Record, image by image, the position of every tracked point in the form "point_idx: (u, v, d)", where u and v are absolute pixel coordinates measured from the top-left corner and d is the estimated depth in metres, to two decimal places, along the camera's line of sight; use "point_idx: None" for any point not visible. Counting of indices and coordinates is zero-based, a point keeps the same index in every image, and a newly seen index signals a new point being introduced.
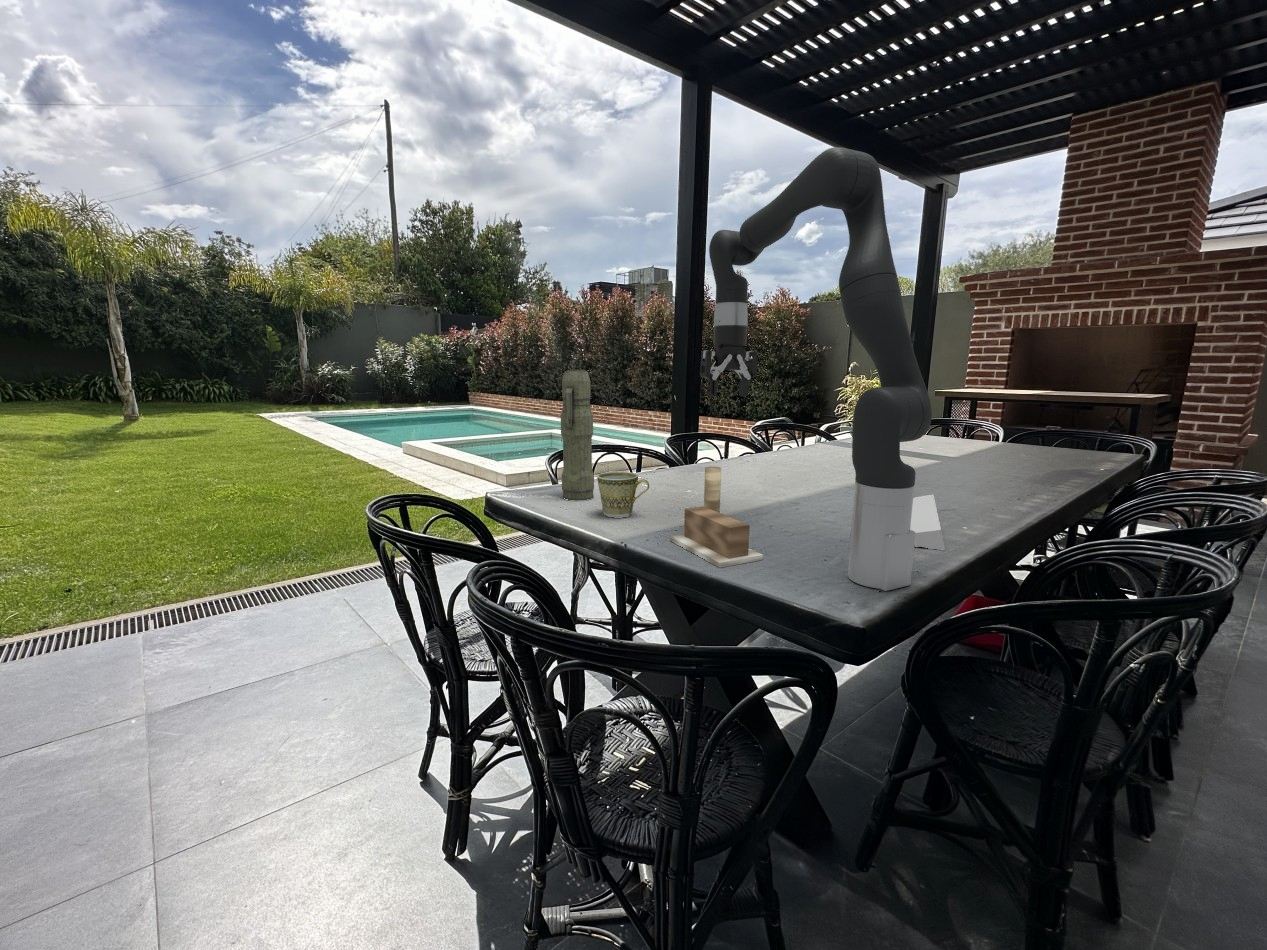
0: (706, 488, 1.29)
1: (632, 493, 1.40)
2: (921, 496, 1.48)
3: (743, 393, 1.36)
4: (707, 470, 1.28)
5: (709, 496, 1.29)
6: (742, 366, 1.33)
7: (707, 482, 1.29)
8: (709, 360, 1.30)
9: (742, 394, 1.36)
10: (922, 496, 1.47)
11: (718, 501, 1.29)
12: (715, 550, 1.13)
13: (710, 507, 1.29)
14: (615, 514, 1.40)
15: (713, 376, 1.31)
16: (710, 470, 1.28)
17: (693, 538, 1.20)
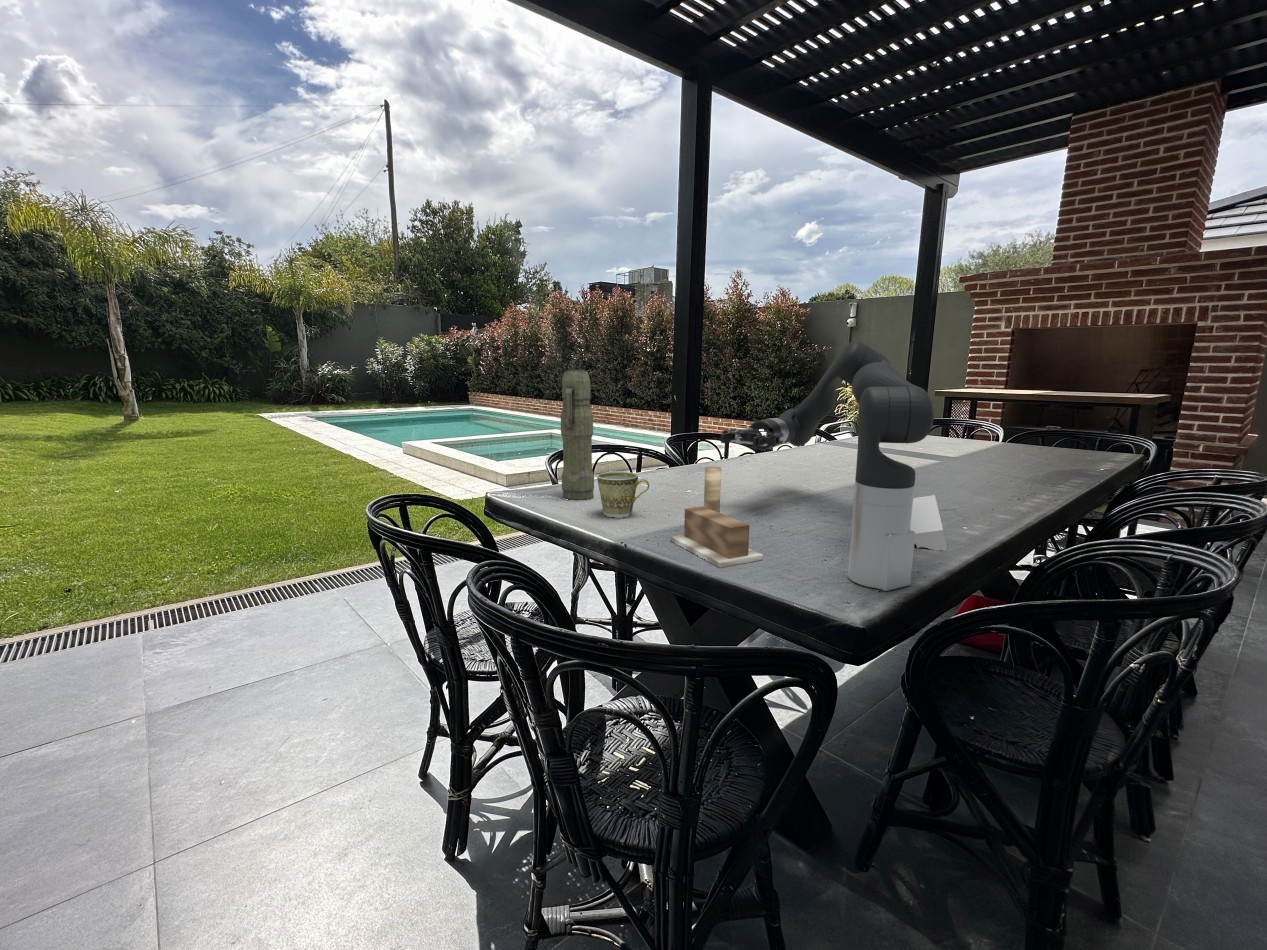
0: (706, 488, 1.29)
1: (632, 493, 1.40)
2: (922, 497, 1.47)
3: None
4: (707, 470, 1.28)
5: (709, 496, 1.29)
6: (761, 431, 1.40)
7: (707, 482, 1.29)
8: (732, 429, 1.47)
9: None
10: (923, 497, 1.47)
11: (718, 501, 1.29)
12: (715, 550, 1.13)
13: (710, 507, 1.29)
14: (615, 514, 1.40)
15: None
16: (710, 470, 1.28)
17: (693, 538, 1.20)
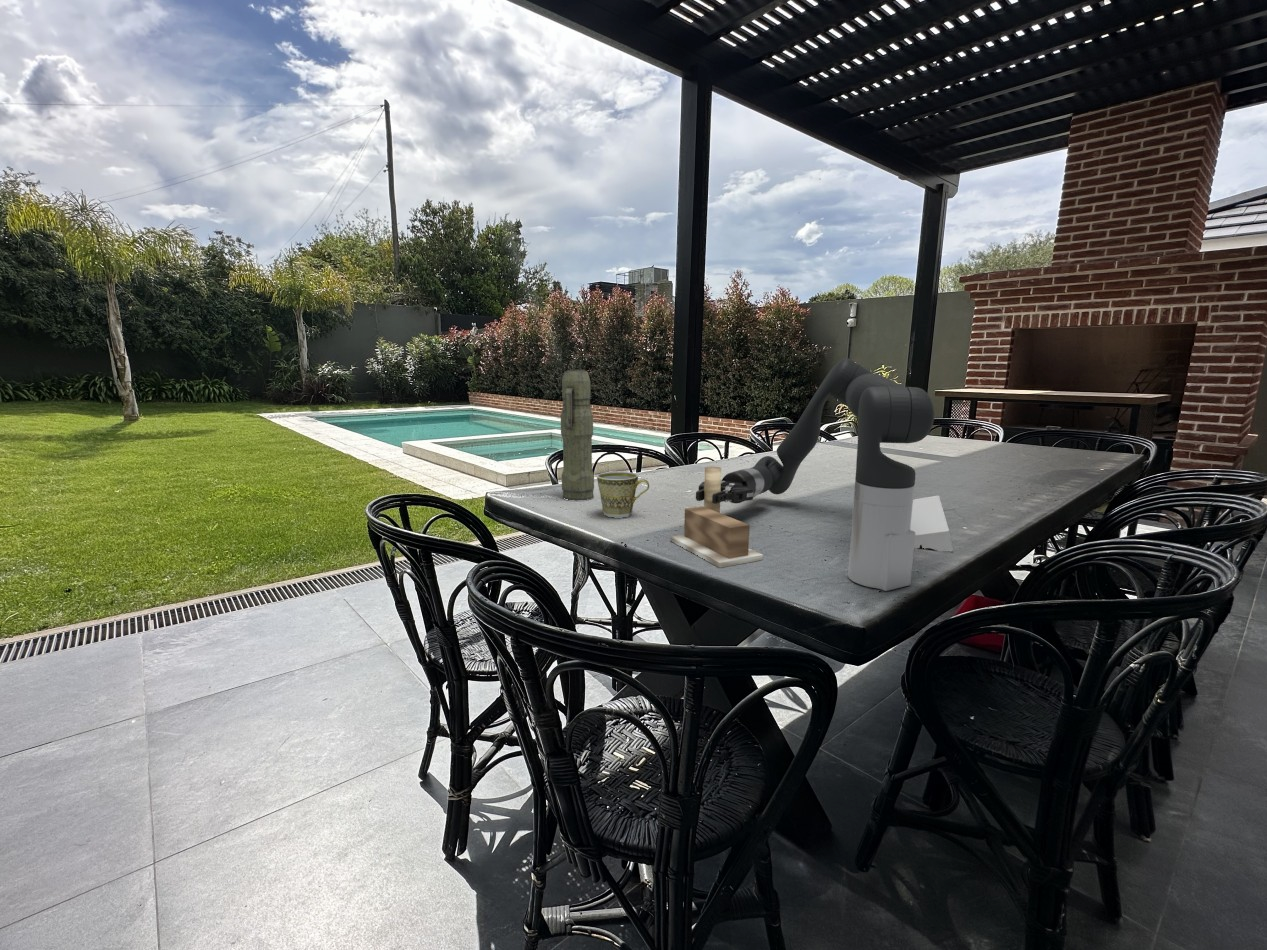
0: (706, 488, 1.29)
1: (632, 493, 1.40)
2: (926, 497, 1.47)
3: None
4: (707, 470, 1.28)
5: (709, 496, 1.29)
6: (729, 485, 1.33)
7: (707, 482, 1.29)
8: (704, 483, 1.37)
9: None
10: (927, 497, 1.46)
11: None
12: (715, 550, 1.13)
13: (710, 507, 1.29)
14: (615, 514, 1.40)
15: None
16: (710, 470, 1.28)
17: (693, 538, 1.20)
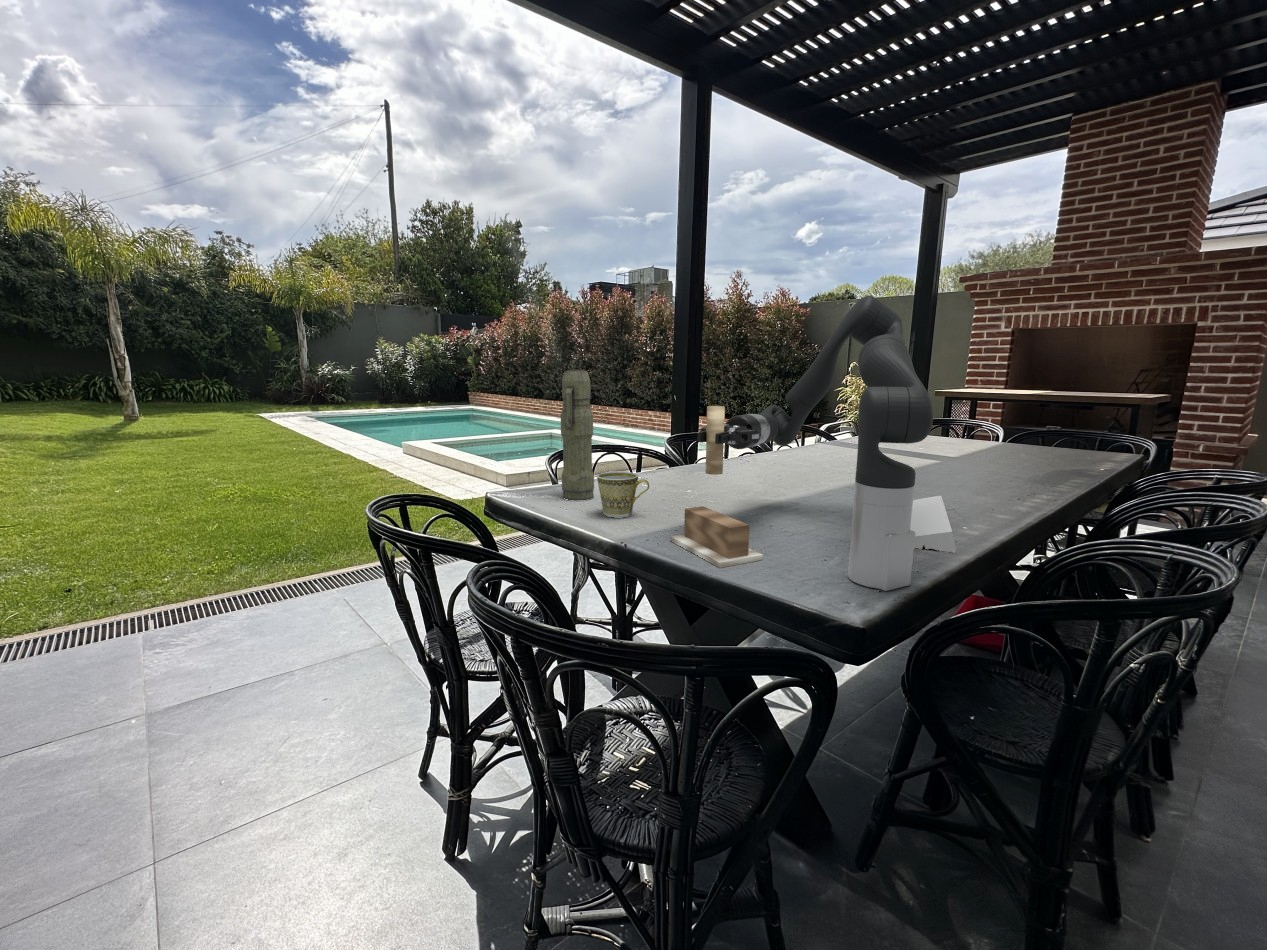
0: (708, 428, 1.20)
1: (632, 493, 1.40)
2: (929, 497, 1.46)
3: None
4: (710, 408, 1.19)
5: (712, 437, 1.20)
6: (732, 427, 1.24)
7: (709, 421, 1.19)
8: (706, 427, 1.28)
9: None
10: (930, 497, 1.46)
11: None
12: (715, 550, 1.13)
13: (713, 449, 1.20)
14: (615, 514, 1.40)
15: None
16: (713, 408, 1.19)
17: (693, 538, 1.20)
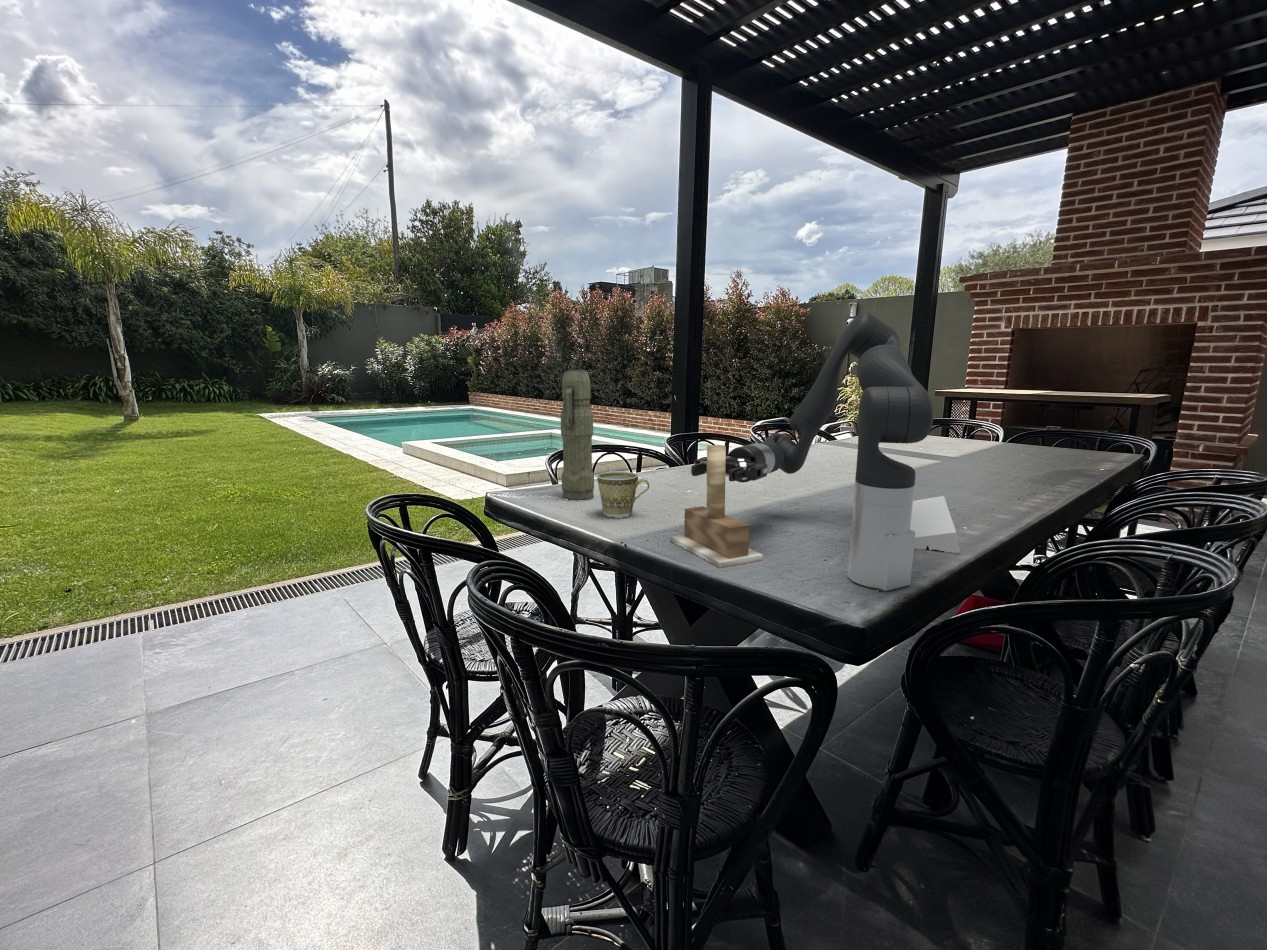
0: (709, 470, 1.13)
1: (632, 493, 1.40)
2: (931, 498, 1.46)
3: None
4: (710, 449, 1.12)
5: (712, 479, 1.12)
6: (740, 461, 1.16)
7: (710, 462, 1.12)
8: (706, 458, 1.22)
9: None
10: (932, 498, 1.46)
11: (723, 484, 1.13)
12: (715, 550, 1.13)
13: (714, 491, 1.13)
14: (615, 514, 1.40)
15: None
16: (713, 449, 1.11)
17: (693, 538, 1.20)
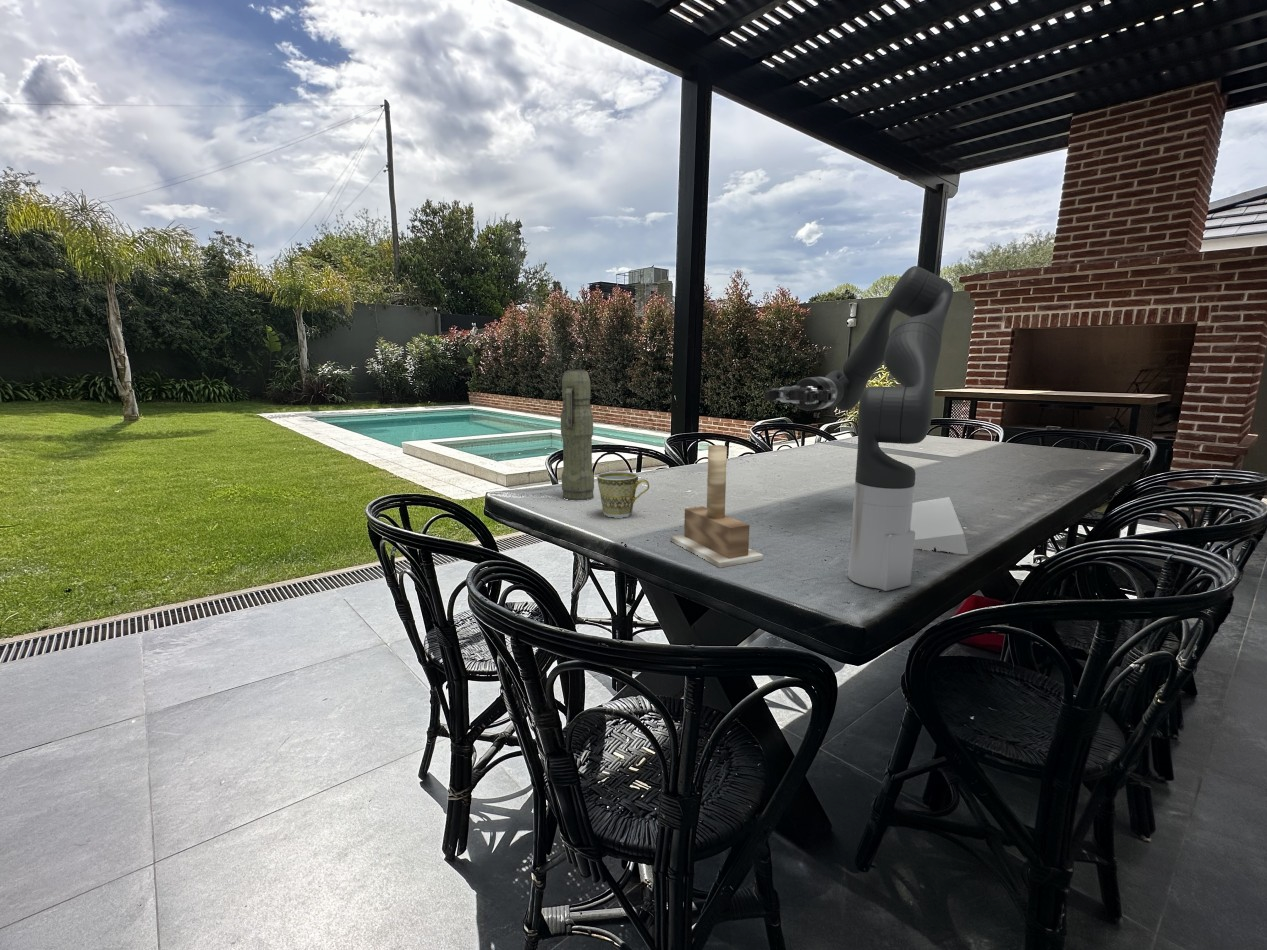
0: (710, 470, 1.13)
1: (632, 493, 1.40)
2: (937, 499, 1.45)
3: None
4: (711, 449, 1.12)
5: (713, 479, 1.13)
6: (810, 387, 1.26)
7: (711, 462, 1.12)
8: (775, 388, 1.32)
9: None
10: (938, 499, 1.45)
11: (723, 484, 1.13)
12: (715, 550, 1.13)
13: (714, 491, 1.13)
14: (615, 514, 1.40)
15: None
16: (714, 449, 1.11)
17: (693, 538, 1.20)
